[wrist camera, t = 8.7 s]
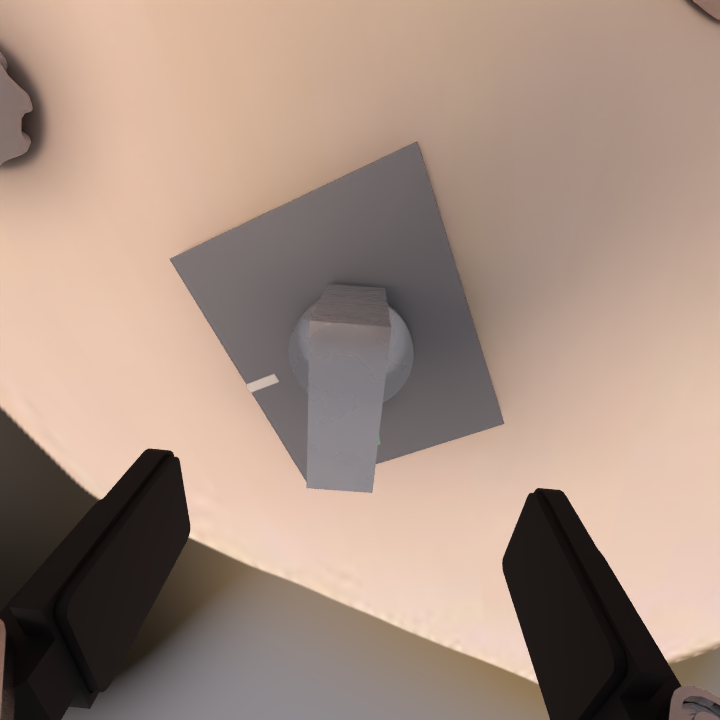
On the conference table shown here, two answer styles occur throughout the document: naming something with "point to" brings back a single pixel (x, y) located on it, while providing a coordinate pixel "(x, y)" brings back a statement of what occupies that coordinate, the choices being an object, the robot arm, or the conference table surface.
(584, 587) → the robot arm
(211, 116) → the conference table surface
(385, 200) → the dial board
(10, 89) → the bottle
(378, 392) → the knob
